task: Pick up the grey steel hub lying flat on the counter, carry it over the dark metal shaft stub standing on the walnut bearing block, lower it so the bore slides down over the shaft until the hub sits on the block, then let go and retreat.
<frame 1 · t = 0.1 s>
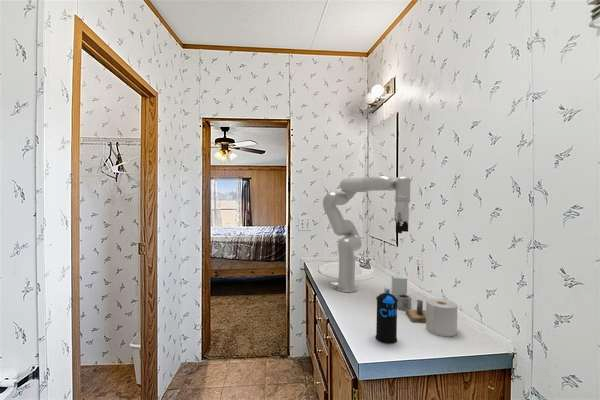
hand: (402, 232, 162), 37 cm above the countertop, tool pointing down, fingers open, 9 cm apart
aerosol can: (386, 339, 120), on the countertop
toilet paper roll: (441, 330, 129), on the countertop
shaft block: (419, 318, 141), on the countertop
supplement box: (398, 300, 166), on the countertop
hub: (403, 308, 153), on the countertop
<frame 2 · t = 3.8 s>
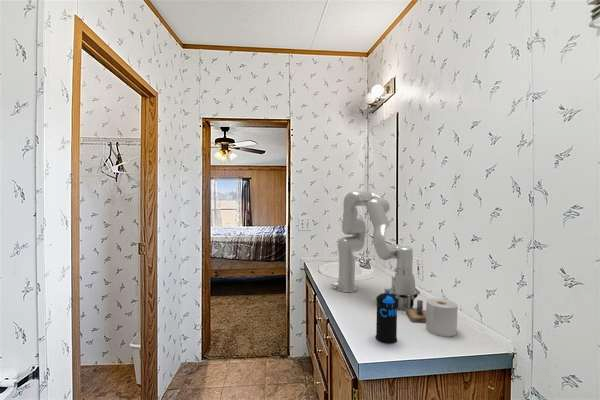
hand: (403, 306, 153), 1 cm above the countertop, tool pointing down, fingers closed on hub, 6 cm apart
hub: (403, 308, 153), on the countertop, touching gripper
everything else where it was.
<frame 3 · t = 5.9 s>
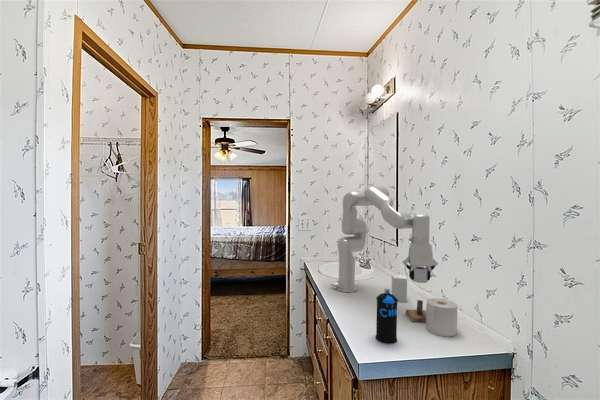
hand: (419, 279, 141), 18 cm above the countertop, tool pointing down, fingers closed on hub, 6 cm apart
hub: (419, 280, 141), point 17 cm above the countertop, touching gripper
everything else where it was.
when the fingers open (4 cm above the countertop, at t = 8.5 s): hub drops 2 cm, resting on shaft block.
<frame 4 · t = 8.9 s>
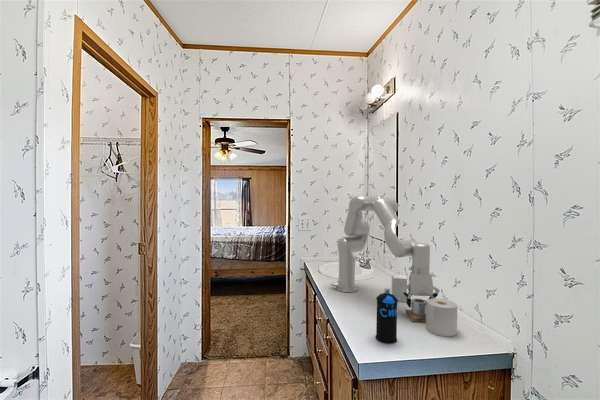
hand: (419, 306, 141), 5 cm above the countertop, tool pointing down, fingers open, 9 cm apart
hub: (419, 313, 141), point 2 cm above the countertop, touching shaft block
everything else where it was.
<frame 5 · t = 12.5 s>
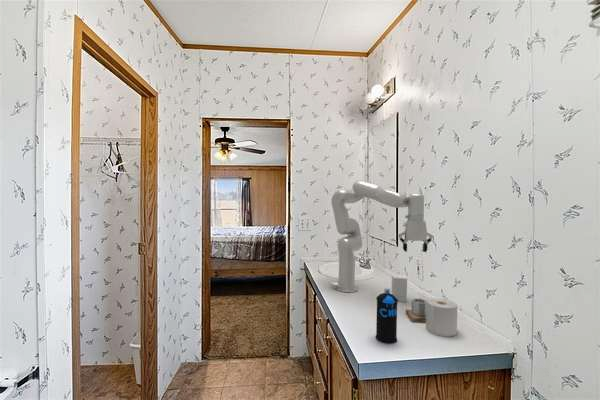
hand: (415, 251, 155), 28 cm above the countertop, tool pointing down, fingers open, 9 cm apart
nothing on the countertop moved.
at the end: hub 0.2 cm from the shaft block (horizontally); hub point 2.0 cm above the countertop; hub tilted 0° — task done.
